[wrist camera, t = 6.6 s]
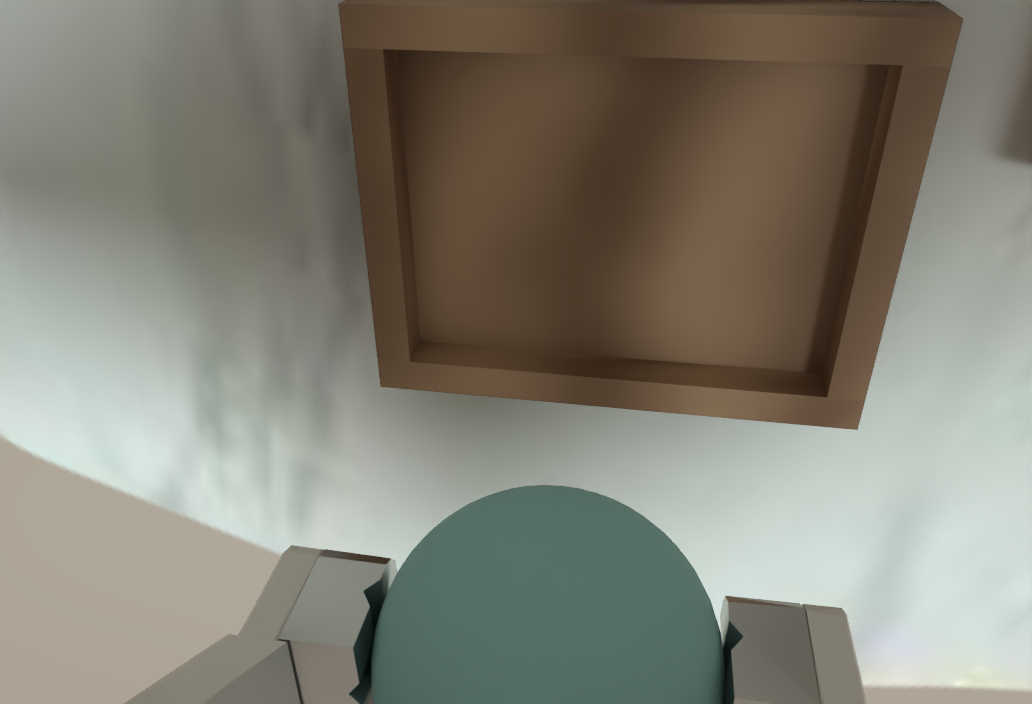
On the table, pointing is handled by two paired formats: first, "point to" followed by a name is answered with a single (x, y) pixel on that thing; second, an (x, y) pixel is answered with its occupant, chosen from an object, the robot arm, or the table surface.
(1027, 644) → the table surface
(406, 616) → the ball
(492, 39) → the tray
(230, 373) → the table surface
